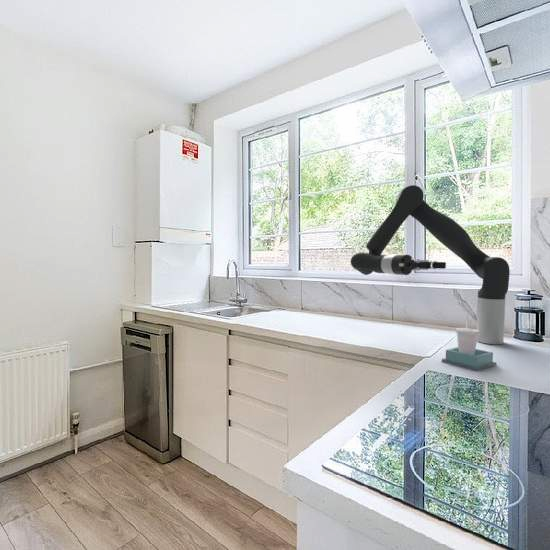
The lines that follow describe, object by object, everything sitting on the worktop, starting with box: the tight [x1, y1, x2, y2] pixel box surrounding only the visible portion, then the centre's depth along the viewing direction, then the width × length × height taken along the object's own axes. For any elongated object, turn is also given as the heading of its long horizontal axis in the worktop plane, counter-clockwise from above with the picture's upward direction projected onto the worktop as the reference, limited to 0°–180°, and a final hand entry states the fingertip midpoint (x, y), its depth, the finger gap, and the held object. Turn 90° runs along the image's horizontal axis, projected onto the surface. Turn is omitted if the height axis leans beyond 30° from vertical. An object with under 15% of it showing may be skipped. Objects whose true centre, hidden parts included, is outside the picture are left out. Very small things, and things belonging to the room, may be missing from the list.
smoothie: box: [455, 315, 479, 355], centre depth 107 cm, size 6×6×14 cm
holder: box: [441, 346, 497, 372], centre depth 108 cm, size 11×11×4 cm
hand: (438, 265), depth 116 cm, fingers open, 8 cm apart
